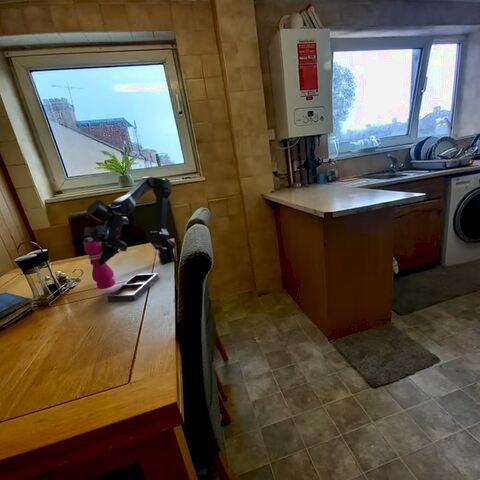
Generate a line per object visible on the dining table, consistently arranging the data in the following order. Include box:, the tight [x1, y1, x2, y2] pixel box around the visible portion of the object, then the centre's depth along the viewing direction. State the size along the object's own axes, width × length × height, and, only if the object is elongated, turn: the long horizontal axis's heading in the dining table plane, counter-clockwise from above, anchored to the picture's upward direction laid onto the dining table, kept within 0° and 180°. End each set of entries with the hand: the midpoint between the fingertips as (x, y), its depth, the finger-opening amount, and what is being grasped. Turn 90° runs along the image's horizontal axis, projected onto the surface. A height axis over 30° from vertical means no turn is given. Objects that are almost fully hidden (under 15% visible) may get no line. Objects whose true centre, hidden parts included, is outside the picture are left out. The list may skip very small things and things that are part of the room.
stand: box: [106, 272, 160, 303], centre depth 108 cm, size 10×19×2 cm, turn 175°
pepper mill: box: [83, 236, 116, 290], centre depth 105 cm, size 7×7×20 cm
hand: (95, 264), depth 104 cm, fingers closed on pepper mill, 5 cm apart
